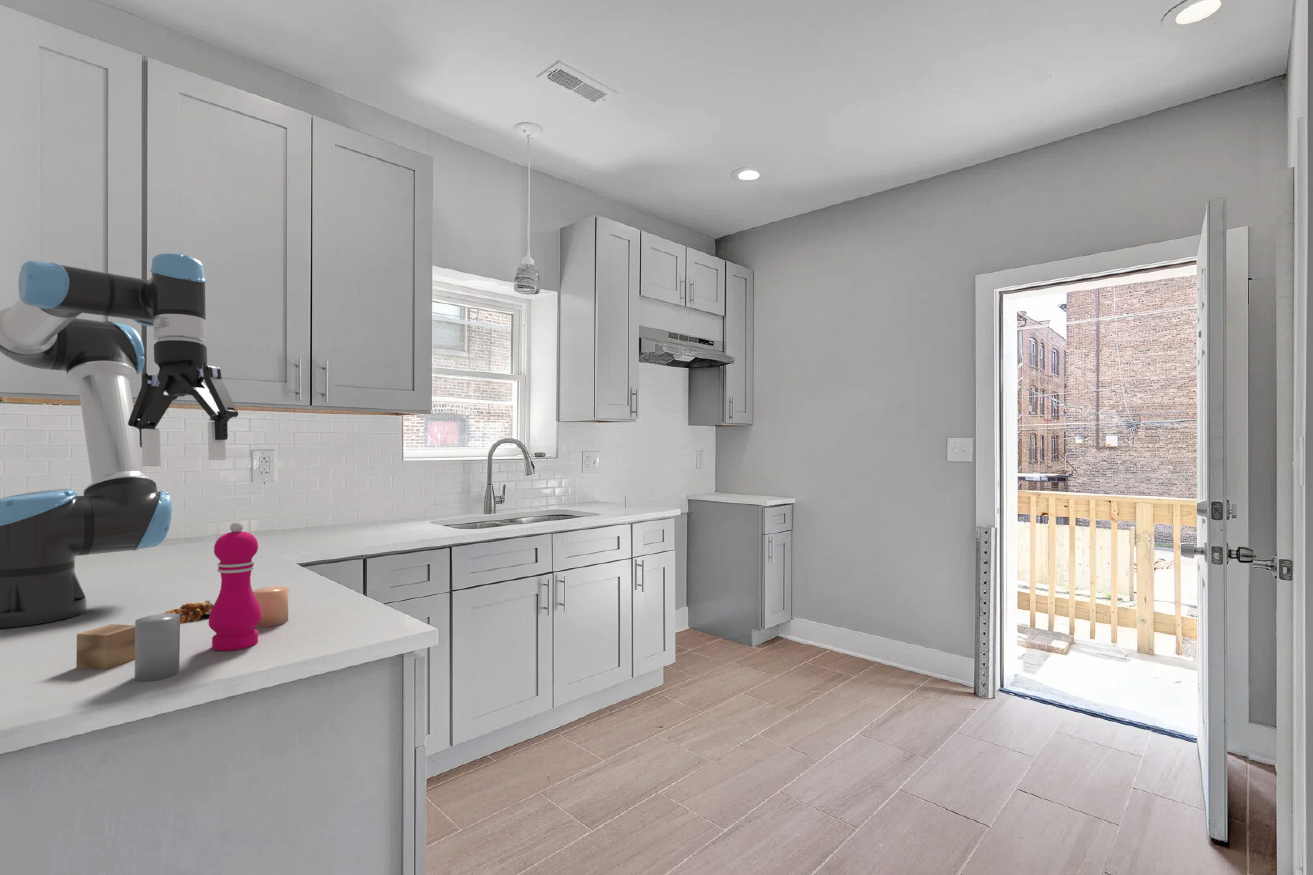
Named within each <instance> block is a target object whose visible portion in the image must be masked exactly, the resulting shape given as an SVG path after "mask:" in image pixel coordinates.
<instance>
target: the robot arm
mask: <svg viewBox="0 0 1313 875" xmlns="http://www.w3.org/2000/svg"><path fill="white" fill-rule="evenodd" d="M150 273H151V277H150V278H149V279H143V278H137V277H132V276H127V275H126V276H125V275H120V274H114V273H108V272H102V271H98V270H97V271H96V270H91V269H86V268H81V267H75V266H74V267H73V266H69V265H63V264H59V263H56V262H44V261H43V262H42V261H35V260H28V261H25V262H24V263H23V264H22V265H21V267H20V271H19V274H18V286H17V287H18V296H19V299H18V300H17V301H16V302H15V303H14V305H12V306H9V307H5V308H3V309H1V310H0V353H1V354H3V355H4V356H6V357H7V358H8V359H11V360H13V361H15V362H16V363H19V364H22V365H24V366H28V367H32V368H36V369H42V370H51V371H52V370H53V371H62V372H63V371H64V372H66V377H67V380H68V381H69V383H71V385H74V386H76V387H78V395H79V400H80V407H81V408H80V409H81V415H82V421H83V428H84V430H83V431H84V436H85V441H86V448H87V449H86V451H87V457H88V465H89V470H90V477H91V483H90V484H89V485H87V486H86V487H84V490H83V495H78V493H77V492H76V490H75V489H72V488H63V489H62V488H60V489H53V490H51V489H48V490H43V491H42V490H41V491H33V492H32V491H31V492H26V493H20V494H14V495H9V496H6V497H5V496H4V497H1V498H0V629H3V628H5V629H6V628H16V627H26V626H34V625H41V624H45V623H49V622H50V623H52V622H55V621H56V622H57V621H60V620H61V621H62V620H65V619H68V618H72V617H75V616H77V615H81V614H83V613H84V612H86V611H87V597H86V595H85V592H84V590H83V588H82V586H81V583H80V581H79V579H78V576H77V574H76V570H75V568H76V565H75V563H76V562H75V560H76V557H79V556H88V555H89V556H90V555H99V554H107V553H108V554H109V553H117V552H127V551H128V552H129V551H138V550H143V549H144V550H145V549H148V548H155V547H157V546H159V545H161V544H162V543H163V542H164V540H165V539H166V537H167V535H168V533H169V530H170V527H171V522H172V517H173V516H172V514H173V502H172V497H171V495H170V493H169V492H167V491H164V490H160V491H158V487H157V482H156V481H155V480H154V479H153V478H151V477H150V476H149V477H148V476H147V475H146V472H145V467H161V464H162V463H161V434H160V433H161V432H160V431H161V430H160V429H159V428H158V427H157V426H158V425H159V423H160V422H161V420H162V419H163V417H164V415H165V413H166V412H167V410H168V409H169V407H170V406H171V404H172V402H174V401H175V400H177V399H178V397H179V398H180V397H181V398H182V397H185V396H192V397H193V398H194V399H195V401H196V402H197V403H198V404H199V405H200V407H201V408H202V409H203V411H204V412H206V414H207V416H208V417H209V419H208V420H209V421H207V445H208V446H207V447H208V448H207V449H208V460H209V461H210V460H212V461H215V460H216V461H225V460H227V456H226V455H227V453H226V452H227V450H226V447H227V446H226V440H228V436H229V432H228V422H229V421H230V419H233V418H236V417H238V416H239V411H238V409H237V407H236V406H235V403H234V401H233V399H232V397H231V395H230V393H229V392H228V389H227V387H226V385H225V383H224V381H223V379H222V373H221V372H222V371H221V368H220V367H219V366H212V365H209V364H208V348H207V346H206V343H207V342H208V340H207V322H206V321H207V320H206V319H207V315H206V282H207V281H206V277H205V270H204V265H203V264H202V262H201V261H200V260H198V259H197V258H194V257H192V256H189V255H183V254H180V253H179V254H178V253H159V254H156V255H155V256H154V257H153V258H152V259H151V268H150ZM81 314H89V315H97V316H105V317H110V318H111V317H113V318H121V319H127V320H128V319H129V320H133V321H134V322H136V323H138V324H140V325H142V326H145V327H151V328H152V327H153V340H155V341H156V342H155V343H154V344H153V361H154V363H155V365H157V366H158V368H159V369H158V374H157V373H156V374H155V373H150V372H144V373H143V374H142V376H141V378H142V381H141V382H142V383H141V387H140V390H139V392H138V395H137V398H136V400H135V403H134V402H133V395H132V391H131V385H130V384H132V383H134V382H135V380H137V376H138V375H139V374H141V373H142V371H143V370H144V367H145V357H144V354H145V348H144V344H143V343H144V342H143V340H142V338H141V336H140V334H139V332H138V331H137V330H136V329H135V328H133V327H132V326H131V325H128V324H124V323H117V322H114V321H112V320H111V321H110V320H109V321H108V320H105V321H101V320H100V321H99V320H93V319H86V318H85V319H84V318H78V317H79V316H80V315H81Z"/></svg>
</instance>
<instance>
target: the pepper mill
mask: <svg viewBox="0 0 1313 875" xmlns="http://www.w3.org/2000/svg"><path fill="white" fill-rule="evenodd" d="M229 529H230V532H227V533H224V534H222V535H220V537H218V538H217V540H216V541H215V542H214V547H213V554H214V556H215V557H216V558H217V559H218V560H219V563H217V567H218V569H216V570H217V572H218V573H220V578H221V579H220V580H221V582H220V584H221V585H220V590H219V594H218V596H217V597H216V598H217V599H216V600H215V602H214V603H213V608H212V610H211V612H210V614H209V616H208V626H209V628H210V629H211V630H212V631H213V632H214V633H216V634H215V635H213V636H212V638H211V649H212V650H215V651H217V652H230V651H237V650H242V649H247V648H250V647H252V646H255V645H257V643H258V642H259V630H258V629H255V628H257V627H256V625H257V624H258V623H259V622H260V620H261V618H262V613H261V607H260V604H259V602H258V600H257V599H256V597H255V595H254V593H253V591H254V590H253V588H252V587H253V586H252V584H251V582H252V581H251V575H252V571H253V570H254V569H255V566H254V565H255V560H254V559H253V558H254V556H255V555H256V554H257V552H258V550H259V542H258V540H257V538H256V536H255V535H253V533H250V532H247V531H243V529H244V525H243V524H242V523H241V522H239V521H234V522H233V523H231V524H230V526H229Z"/></svg>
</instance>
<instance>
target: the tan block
mask: <svg viewBox="0 0 1313 875" xmlns="http://www.w3.org/2000/svg"><path fill="white" fill-rule="evenodd" d="M134 659H135V624H134V625H133V624H132V625H131V624H130V625H129V624H111V623H110V624H107V625H103V626H100V627H95V628H93V629H89V630H86V631H82V632H79V633H76V660H75V662H76V666H75V667H76V669H90V668H91V670H93V669H94V670H104V671H105V670H109V669H112V668H114V667H117V666H120V664H121V665H123V664H127V663H128V662H132V661H135V660H134Z"/></svg>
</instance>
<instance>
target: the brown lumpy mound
mask: <svg viewBox="0 0 1313 875" xmlns="http://www.w3.org/2000/svg"><path fill="white" fill-rule="evenodd" d="M213 606H214V603H211V600H210V599H208V600H207V599H206V600H200V601H197V602H194V603H193V602H187V603H185V604H181V606H180V607H179V608H172V609H170V610H167V611H165V612H164V613H161V614H179V615H180V625H184V624H189V623H193V622H198V621H200V620H201V617H202V616H204V615H205V614H209V615H210V612H211V610H212V608H213Z"/></svg>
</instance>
